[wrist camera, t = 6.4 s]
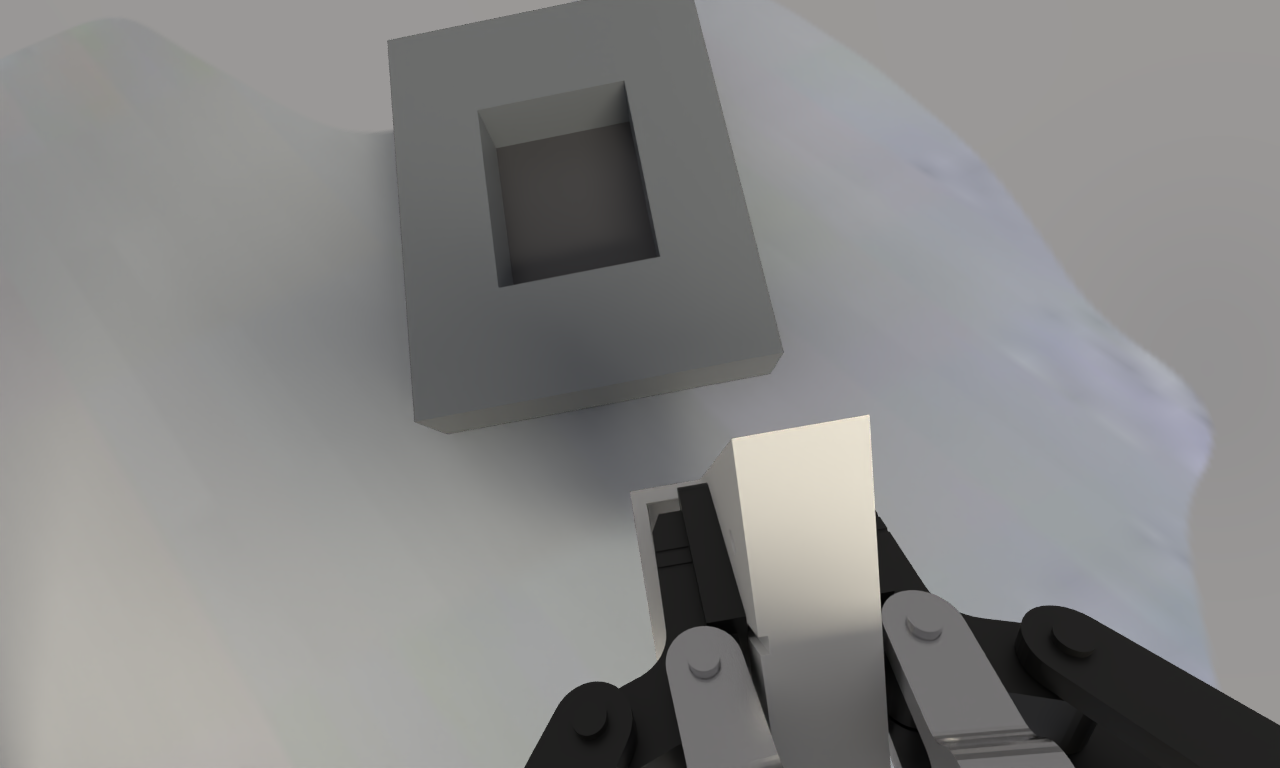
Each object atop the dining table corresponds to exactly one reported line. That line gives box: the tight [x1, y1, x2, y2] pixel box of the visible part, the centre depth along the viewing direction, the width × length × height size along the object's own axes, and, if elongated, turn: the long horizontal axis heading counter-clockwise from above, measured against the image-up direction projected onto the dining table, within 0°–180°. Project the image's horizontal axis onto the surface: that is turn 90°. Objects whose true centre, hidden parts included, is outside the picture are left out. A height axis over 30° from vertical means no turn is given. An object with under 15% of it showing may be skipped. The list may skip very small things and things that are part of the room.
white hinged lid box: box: [630, 415, 890, 768], centre depth 13 cm, size 4×10×9 cm, turn 10°
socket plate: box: [387, 0, 784, 434], centre depth 24 cm, size 14×18×3 cm
